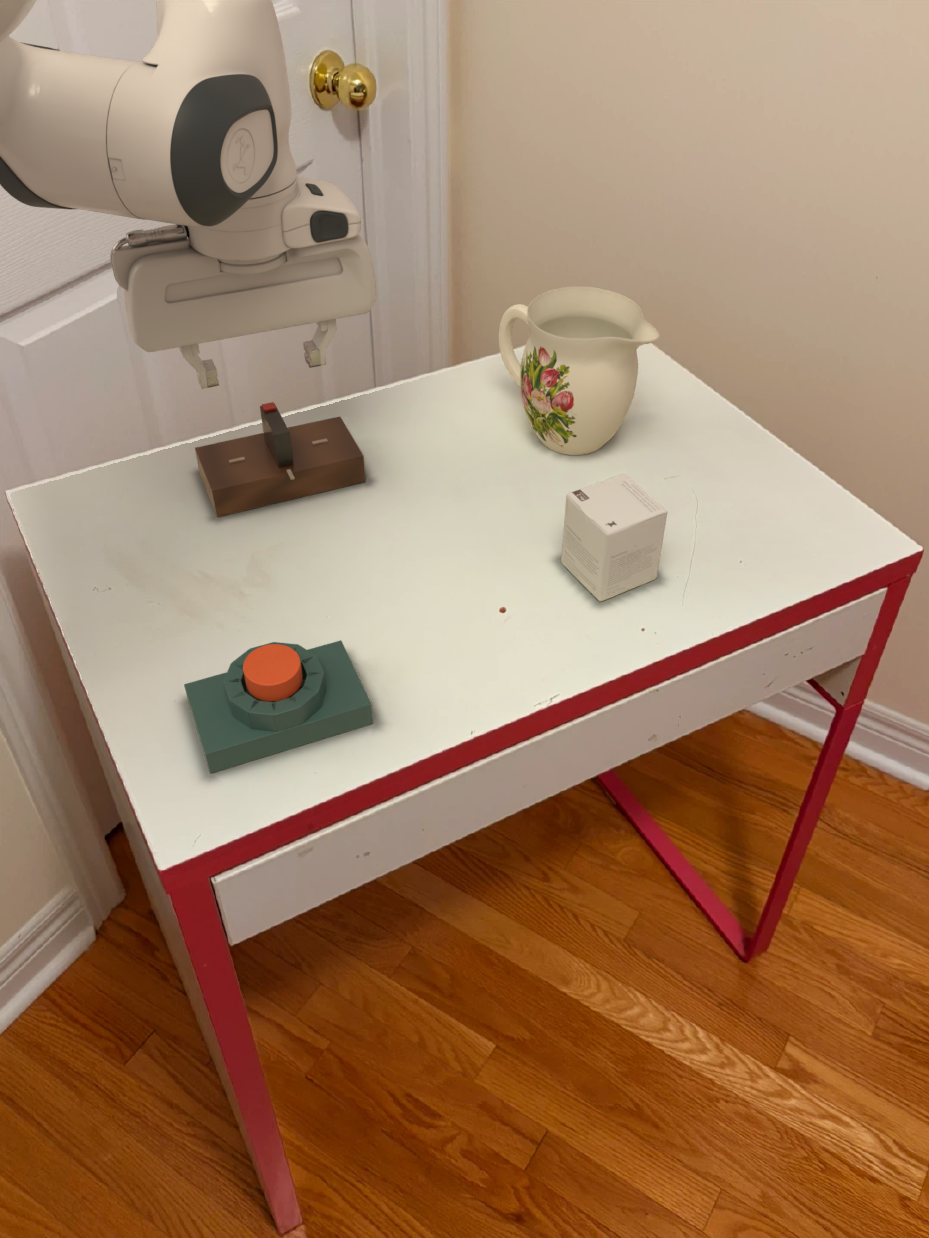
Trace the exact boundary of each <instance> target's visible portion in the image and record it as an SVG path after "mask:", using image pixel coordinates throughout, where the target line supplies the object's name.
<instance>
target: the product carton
mask: <svg viewBox="0 0 929 1238" xmlns="http://www.w3.org/2000/svg"><path fill="white" fill-rule="evenodd" d="M667 517H668V510H667V509H665V508H664V507H663V506H662V505H661V504H660V503H659V502H657V500H655V499H654V497H652V496H651V495H650V494H649V493H648V492H646V490H644V489H643V488H641V487H640V486H639V485H638V484H637V483H636V482H635V481H634V480H633V479H632V478H631V477H630V476H629V475H627V474H626V473H622V474H618V475H615V476H612V477H610V478H607V479H604V480H602V481H599V482H596V483H593V484H590V485H587V486H584V487H581V488H580V489H576V490H574V491H571V492H568V493H567V494H566V495H565V507H564V521H563V533H562V544H561V545H562V546H561V557H560V563H561V564H562V565H563V566H564V567H565V568H566V569H567V570H568V571H569V572H570V573H571V574H572V575H573V576H574V577H575V578H576V579H577V580H578V581H579V583H581V585H583V586H584V587H585V588H586V590H588V592H589V593H590V594H592V595H593V597H595V598H596V599H597V601H599V602H603V601H605V600H608V599H611V598H613V597H615V596H618V595H620V594H623V593H625V592H627V591H630V590H633V589H635V588H638V587H641V586H643V585H645V584H648V583H650V582H653V581H654V580H656V579H657V578H658V574H659V567H660V563H661V562H660V561H661V555H662V549H663V542H664V536H665V531H666V523H667Z"/></svg>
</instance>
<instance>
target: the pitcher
mask: <svg viewBox="0 0 929 1238" xmlns="http://www.w3.org/2000/svg"><path fill="white" fill-rule="evenodd" d="M517 319H519V320H522V321H523V322H524V323H525V324H527V326H528V330H529V336H528V339H527V341H526V343H525V346H524V349H523V352H522V355H521V359H520V362H519V360H518V358H517V356H516V353H515V349H514V344H513V328H514V324H515V321H516V320H517ZM660 336H661V333H660V332H659V330H658V329H657V328H656V327H655V326H654V325H652V324H651V323H650V322H648V321H647V320H646V319H645V317H644V314H643V310H642V308H641V307H640V305H639V304H638V303H637V302H636V301H634V300H632V299H631V298H629V297H627V296H625V295H624V294H621V293H618V292H616V291H613V290H609V289H605V288H600V287H595V286H580V285H579V286H578V285H577V286H575V285H574V286H565V287H559V288H553V289H550V290H547V291H545V292H543V293H540V294H539V295H537V296H535V297H534V298H533V299H532V300H531V301H530V302H529V303H528V305H525V304H523V303H517V304H513V305H511V306H509V307H508V308H507V309H506V310H505V311H504V313H503V314H502V317H501V319H500V324H499V328H498V347H499V353H500V357H501V360H502V362H503V364H504V366H505V368H506V370H507V372H508V373H509V375H510V376H511V378H512V379H513V381H514V382H515V383H516V384H517V385H518V386H519V389H520V395H521V400H522V405H523V409H524V412H525V416H526V418H527V421H528V423H529V426H530V427H531V429H532V431H533V433H534V434H535V435H536V436H537V438H538V439H539V440H540V442H541V443H542V444H543V446H545V447H546V448H548V449H549V450H552V451H554V452H556V453H559V454H563V455H570V456H581V455H582V456H583V455H587V454H591V453H594V452H596V451H598V450H600V449H601V448H603V446H604V445H605V444H606V443H607V442H609V441H610V440H611V439H612V438H613V437H614V435H616V433H617V432H618V430H619V429H620V427H621V426H622V424H623V422H624V420H625V419H626V417H627V414H628V413H629V410H630V408H631V405H632V402H633V400H634V396H635V393H636V388H637V381H638V374H639V358H638V351H637V350H638V349H639V347H642V346H643V345H648V344H649V345H650V344H652V343H655V342H657V341H658V340H659V339H660Z"/></svg>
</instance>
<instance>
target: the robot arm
mask: <svg viewBox="0 0 929 1238" xmlns="http://www.w3.org/2000/svg"><path fill="white" fill-rule="evenodd" d="M36 2H37V0H0V186H1V187H2V188H3V190H5V192H6V193H8V195H10V197H12V198H14V199H15V200H16V201H18V202H20V203H22V204H24V205H26V206H29V207H34V208H43V209H44V208H45V209H57V210H58V209H60V210H71V211H72V210H81V211H86V212H92V213H93V212H94V213H100V214H106V215H111V216H118V217H123V218H124V217H125V218H129V219H130V218H132V219H137V220H142V221H153V222H158V223H160V222H161V223H164V224H165V223H166V224H168V225H164V226H163V225H162V226H159V227H156V228H150V229H135V230H134V229H133V230H131V231H128V232H126V233H125V237H123V238H121V239H119V240H118V241H117V242H115V244H114V245H113V247H112V248H111V252H110V256H109V257H110V258H109V259H110V265H111V269H112V273H113V276H114V279H115V281H116V283H117V284H118V285H119V287H121V288H122V289H123V293H124V294H123V295H124V305H125V306H124V307H125V314H126V320H127V324H128V328H129V332H130V335H131V338H132V340H133V342H134V343H135V345H137V346H138V347H139V348H141V349H142V350H143V351H145V352H147V353H154V352H155V353H156V352H160V351H166V350H171V349H177V348H179V351H180V353H181V355H182V358H183V359H184V360H185V361H186V362H187V363H188V364H189V365H190V366H191V368H193V370H195V372H196V373H195V374H196V377H197V381H198V384H199V386H200V389H202V390H204V389H209V388H214V387H219V386H220V383H219V382H220V381H219V379H218V377H219V375H218V370H217V366H216V365H215V364H214V363H215V362H214V361H213V359H212V358H209V359H202V358H201V357H200V356H199V354H200V352H201V351H200V346H199V344H205V343H209V342H214V341H221V340H227V339H232V338H236V337H243V336H248V335H249V336H250V335H253V334H254V335H255V334H259V333H265V332H270V331H271V332H272V331H277V330H282V329H286V328H293V327H299V326H304V325H305V326H306V325H310V324H314V323H316V325H317V327H316V329H315V331H314V334H313V336H312V338H311V340H306V341H302V345H303V351H304V353H303V354H304V361H305V363H306V364H307V367H308V368H309V369H311V368H317V367H322V366H326V365H327V352H326V349H327V348H328V347H329V345H330V343H331V341H332V339H333V337H334V335H335V333H336V331H337V320H339V319H343V318H348V317H349V318H350V317H355V316H360V315H365V314H368V313H369V312H370V311H371V310H372V308H373V306H374V305H375V303H376V301H377V283H376V276H375V269H374V263H373V258H372V254H371V251H370V248H369V246H368V245H367V243H366V241H365V240H364V239H363V237H362V236H361V234H360V233H361V230H362V217H361V215H360V213H359V211H358V209H357V207H356V205H355V204H354V202H353V201H352V200H351V199H350V197H349V196H348V195H347V194H346V193H345V192H344V191H343V190H342V189H340V188H339V187H338V186H337V185H336V184H334V183H333V182H329V181H325V180H321V179H315V178H309V177H304V176H299V175H298V171H297V166H296V163H295V159H294V157H293V155H292V152H291V148H290V140H289V139H290V137H289V136H290V135H289V134H290V127H291V122H292V102H291V93H290V84H289V83H290V82H289V76H288V69H287V68H288V67H287V61H286V55H285V50H284V49H285V48H284V44H283V40H282V34H281V33H282V32H281V29H280V25H279V22H278V17H277V14H276V10H275V6H274V3H273V1H272V0H156V4H155V5H156V28H157V29H156V30H157V38H156V39H155V42H154V44H153V46H152V48H151V49H150V51H149V52H148V53H147V54H146V55H145V56H144V57H142V60H134V59H133V60H132V59H126V58H125V59H124V58H117V57H110V56H109V57H108V56H103V55H96V54H95V55H94V54H86V53H79V52H69V51H65V50H59V49H56V48H53V47H50V46H49V47H48V46H43V45H38V44H32V43H27V42H20V41H18V40H16V39H14V38H13V37H11V36H10V35H11V34H13V32H14V31H16V29H17V28H18V27H20V25H21V24H22V23H23V21H24V20H25V19H26V18H27V16H29V14H30V12H31V10H32V9H33V7H34V5H35V4H36ZM126 244H127V245H126Z"/></svg>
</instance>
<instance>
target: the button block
mask: <svg viewBox="0 0 929 1238" xmlns="http://www.w3.org/2000/svg"><path fill="white" fill-rule="evenodd" d="M270 644H280V645H285V646H288V647H290V648H292V649H293V650H294V651H295V652H296V653H297V654H298V655H299V658H300V662H301V669H302V676H303V680H302V684H301V686H300V688H299V689H298V691H297V692H296V693H294V694H293V695H292V696H290V697H288V698H286V699H283V700H280V701H272V702H270V701H263V700H259V699H257V698H255V697H254V696H252V695H251V694H250V693H249V691H248V689H247V686H246V682H245V677H244V672H243V664H244V661H245V659H246V657H247V656H248V655H249V654H250V653H251V652H252V651H254V650H255V649H257V648H259V647H262V646H265V645H270ZM183 686H184V690H185V694H186V697H187V701H188V702H187V703H188V705H189V708H190V711H191V715H192V718H193V721H194V726H195V728H196V731H197V735H198V738H199V741H200V744H201V747H202V751H203V755H204V757H205V761H206V764H207V768H208V771H209V773H210V774H213V773H217V772H220V771H223V770H226V769H227V770H228V769H230V768H234V767H237V766H240V765H243V764H247V763H249V762H254V761H256V760H260V759H263V758H266V757H270V756H273V755H275V754H279V753H282V752H286V751H289V750H292V749H295V748H298V747H302V746H305V745H309V744H312V743H315V742H319V741H320V740H325V739H327V738H331V737H334V736H338V735H342V734H344V733H347V732H351V731H353V730H358V729H360V728H361V729H362V728H364V727H367V726H370V725H373V723H374V722H373V711H372V710H373V709H372V703H371V700H370V699H369V697H368V694H367V692H366V690H365V687H364V686H363V683H362V682H361V679H360V677H359V675H358V673H357V671H356V669H355V667H354V664H353V662H352V660H351V658H350V656H349V653H348V652H347V650H346V647H345V645H344V643H343V641H342V640H336V641H334V642H330V643H325V644H323V645H319V646H315V647H312V648H308V649H306V648H305V647H303V646H301V645H300V644H298V643H289V642H288V643H287V642H280V641H279V642H278V641H273V642H269V643H265V644H261V645H257V646H254V647H250V648H248V649H247V650H246V651H245V652H243V653H242V654H241V655H240V656H238V657H236V658H235V660H233V661H232V662H231V663H230V664H229V667H228V669H227V672H226V671H225V672H223V673H220V674H216V675H211V676H209V677H204V678H201V679H198V680H194V681H191V682H186V683H184V684H183Z"/></svg>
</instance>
